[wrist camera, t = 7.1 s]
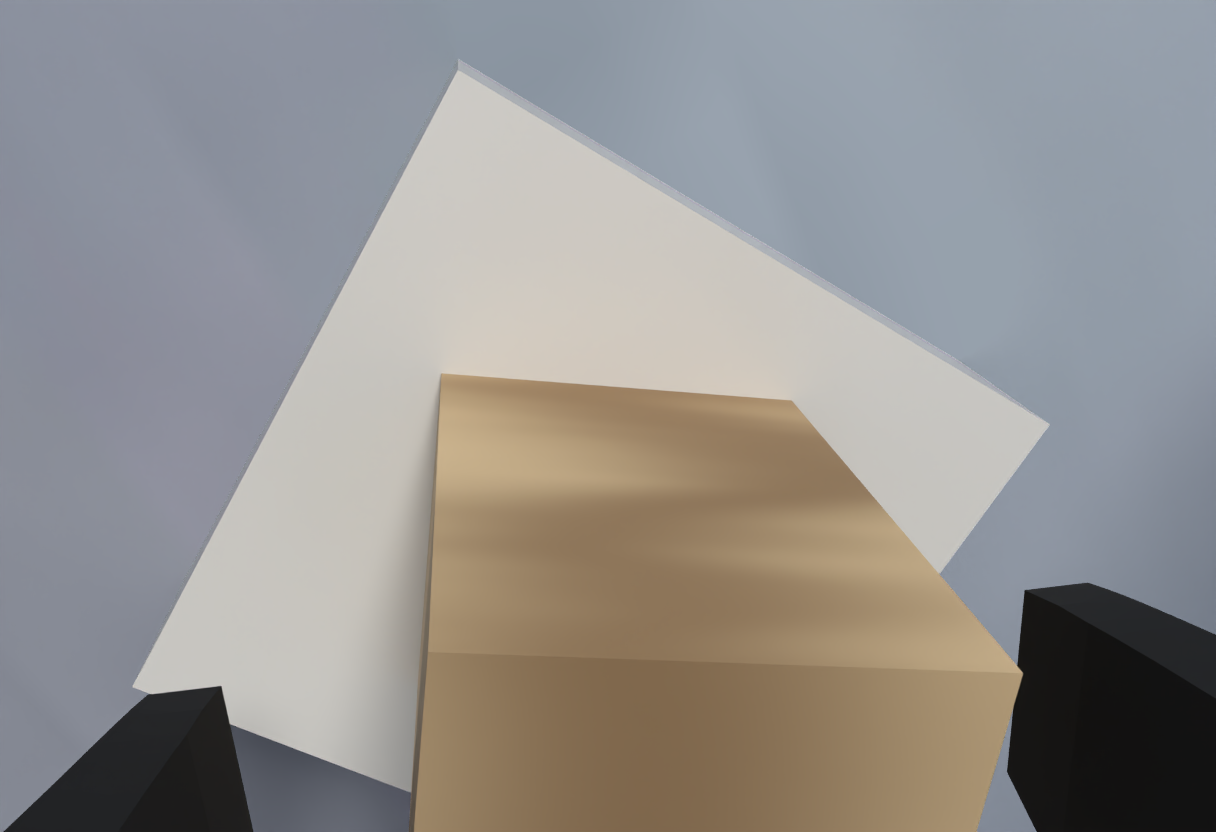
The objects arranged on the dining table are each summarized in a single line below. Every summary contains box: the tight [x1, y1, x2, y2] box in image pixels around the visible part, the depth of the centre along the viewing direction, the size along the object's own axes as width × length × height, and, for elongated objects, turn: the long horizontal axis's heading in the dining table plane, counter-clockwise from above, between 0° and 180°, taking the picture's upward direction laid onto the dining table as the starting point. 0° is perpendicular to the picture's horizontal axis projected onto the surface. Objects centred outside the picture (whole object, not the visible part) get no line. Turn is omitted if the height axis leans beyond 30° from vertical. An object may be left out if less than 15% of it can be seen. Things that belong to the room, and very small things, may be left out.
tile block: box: [133, 59, 1050, 793], centre depth 14 cm, size 8×8×3 cm
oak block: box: [409, 373, 1023, 832], centre depth 10 cm, size 4×4×6 cm
